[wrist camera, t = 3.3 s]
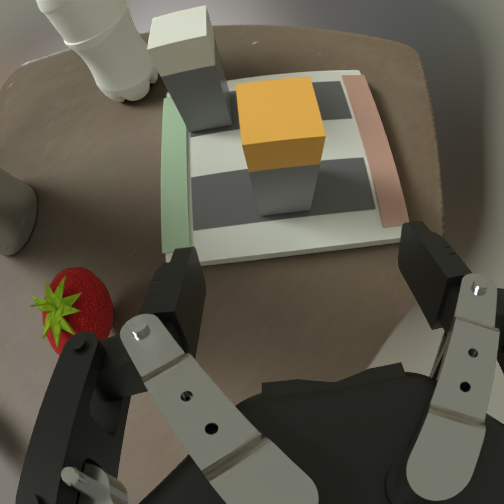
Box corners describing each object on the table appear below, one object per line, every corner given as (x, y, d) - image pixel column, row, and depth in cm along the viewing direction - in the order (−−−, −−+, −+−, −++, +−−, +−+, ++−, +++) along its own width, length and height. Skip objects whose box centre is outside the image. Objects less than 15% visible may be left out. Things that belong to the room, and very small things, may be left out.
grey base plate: (171, 269, 27) (86, 229, 14) (170, 104, 31) (123, 15, 18) (402, 241, 26) (483, 183, 13) (357, 81, 30) (379, -15, 17)
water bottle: (175, 77, 32) (91, -104, 8) (129, 118, 31) (5, -51, 7) (142, 58, 34) (61, -92, 9) (100, 95, 33) (-7, -45, 9)
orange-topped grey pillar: (259, 216, 25) (241, 145, 14) (254, 170, 26) (235, 84, 15) (310, 210, 25) (325, 136, 14) (302, 165, 26) (309, 76, 15)
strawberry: (81, 349, 27) (9, 355, 17) (88, 273, 28) (18, 253, 19) (133, 361, 26) (66, 376, 16) (139, 279, 28) (75, 259, 18)
